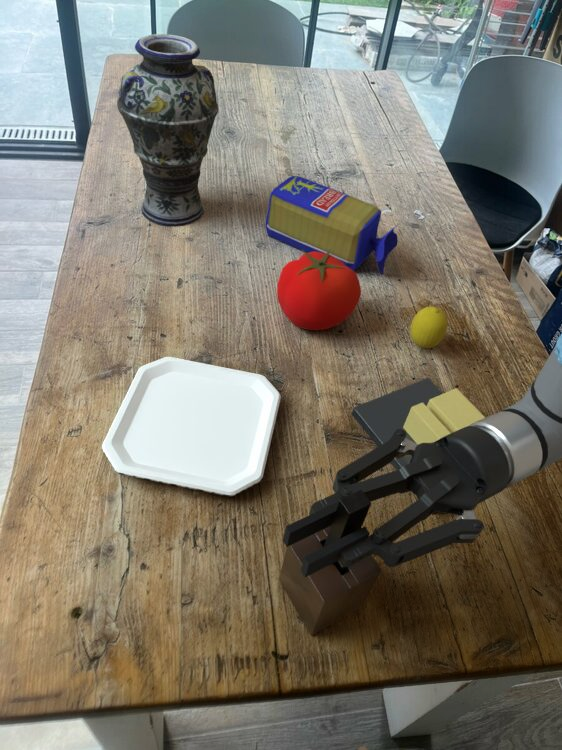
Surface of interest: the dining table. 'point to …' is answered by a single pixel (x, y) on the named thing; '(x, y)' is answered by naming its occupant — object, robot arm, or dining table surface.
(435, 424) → the butter slice
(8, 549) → the dining table surface
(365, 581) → the knife block
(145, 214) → the vase
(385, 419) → the board
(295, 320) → the tomato
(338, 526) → the knife
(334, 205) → the bread
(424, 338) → the lemon
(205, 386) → the plate
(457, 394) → the butter
